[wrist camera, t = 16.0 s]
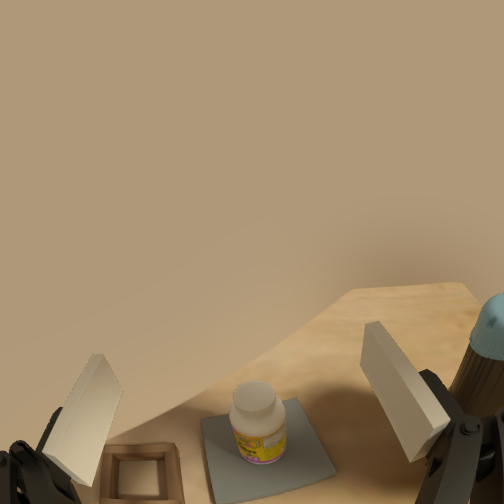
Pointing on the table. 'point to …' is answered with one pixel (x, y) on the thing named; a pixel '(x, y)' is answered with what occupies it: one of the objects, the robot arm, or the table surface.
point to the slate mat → (264, 475)
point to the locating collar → (138, 453)
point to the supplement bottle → (258, 422)
